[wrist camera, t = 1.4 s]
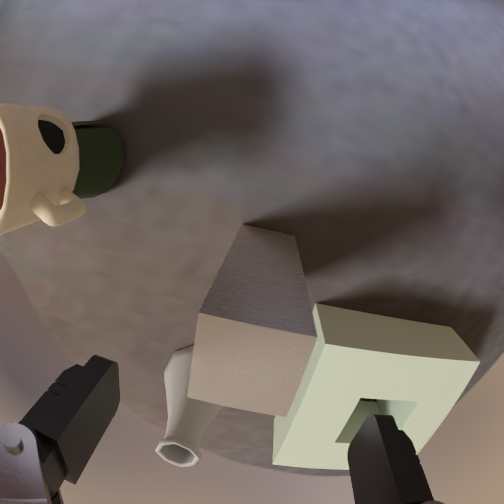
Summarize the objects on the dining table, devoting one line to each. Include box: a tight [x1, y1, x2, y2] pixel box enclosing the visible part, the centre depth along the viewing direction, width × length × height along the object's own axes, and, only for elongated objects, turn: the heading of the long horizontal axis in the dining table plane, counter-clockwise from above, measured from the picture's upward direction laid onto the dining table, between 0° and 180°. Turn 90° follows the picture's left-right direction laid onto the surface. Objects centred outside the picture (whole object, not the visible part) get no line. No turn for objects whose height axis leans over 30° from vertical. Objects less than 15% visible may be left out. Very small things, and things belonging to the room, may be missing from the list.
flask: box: [155, 345, 224, 467], centre depth 23 cm, size 7×7×10 cm
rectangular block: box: [187, 224, 317, 417], centre depth 17 cm, size 4×4×14 cm
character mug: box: [0, 103, 124, 235], centre depth 16 cm, size 11×7×13 cm, turn 54°
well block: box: [273, 303, 480, 470], centre depth 24 cm, size 14×14×6 cm
